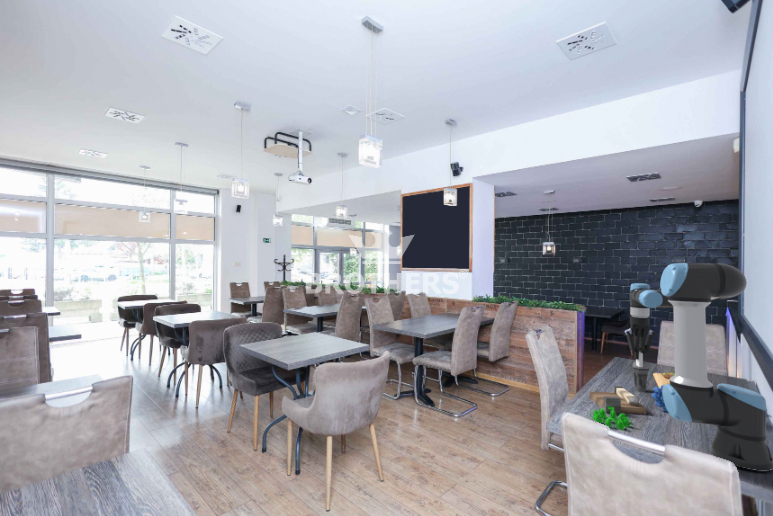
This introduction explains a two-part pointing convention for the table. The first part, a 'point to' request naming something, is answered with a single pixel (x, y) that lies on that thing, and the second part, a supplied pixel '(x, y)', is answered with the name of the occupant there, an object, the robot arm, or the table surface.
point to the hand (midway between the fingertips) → (639, 366)
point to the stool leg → (627, 396)
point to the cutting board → (663, 378)
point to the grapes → (659, 398)
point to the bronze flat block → (615, 403)
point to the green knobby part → (611, 418)
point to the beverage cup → (640, 376)
